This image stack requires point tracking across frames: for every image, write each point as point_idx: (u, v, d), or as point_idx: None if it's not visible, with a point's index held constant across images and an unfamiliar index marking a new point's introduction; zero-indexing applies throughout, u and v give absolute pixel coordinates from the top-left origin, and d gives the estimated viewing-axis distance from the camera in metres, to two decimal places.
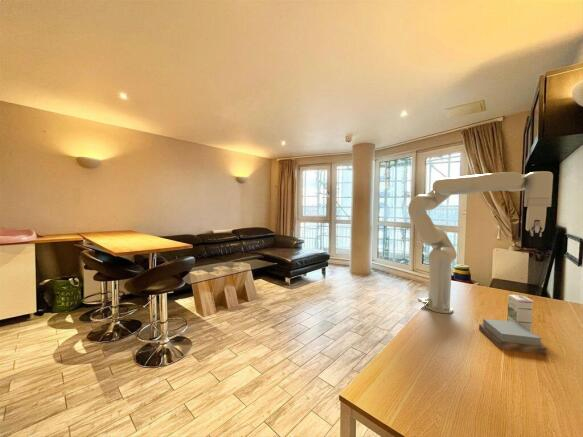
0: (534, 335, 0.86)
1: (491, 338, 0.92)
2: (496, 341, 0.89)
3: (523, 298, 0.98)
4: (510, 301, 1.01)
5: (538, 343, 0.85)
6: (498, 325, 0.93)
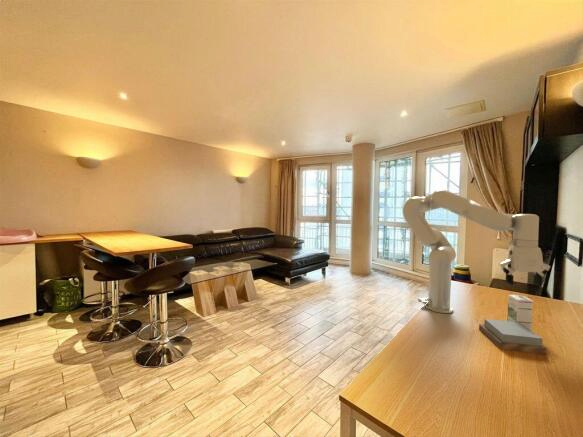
0: (536, 335, 0.86)
1: (491, 338, 0.92)
2: (496, 341, 0.89)
3: (523, 298, 0.98)
4: (510, 301, 1.01)
5: (540, 343, 0.85)
6: (499, 325, 0.93)
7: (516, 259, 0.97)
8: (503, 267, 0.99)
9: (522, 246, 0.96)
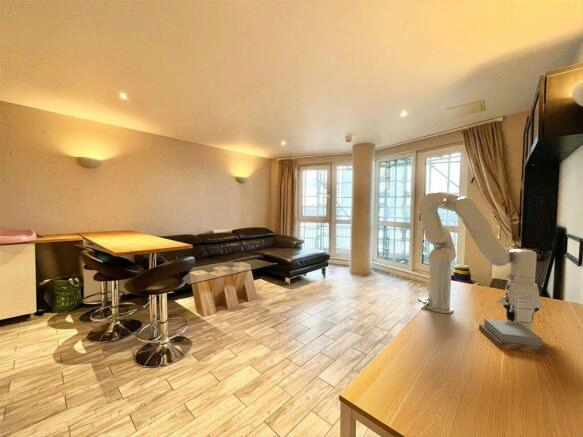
0: (535, 336, 0.86)
1: (491, 338, 0.92)
2: (496, 341, 0.89)
3: None
4: None
5: (539, 344, 0.85)
6: (499, 325, 0.93)
7: (513, 294, 0.98)
8: (503, 304, 1.00)
9: (519, 282, 0.97)
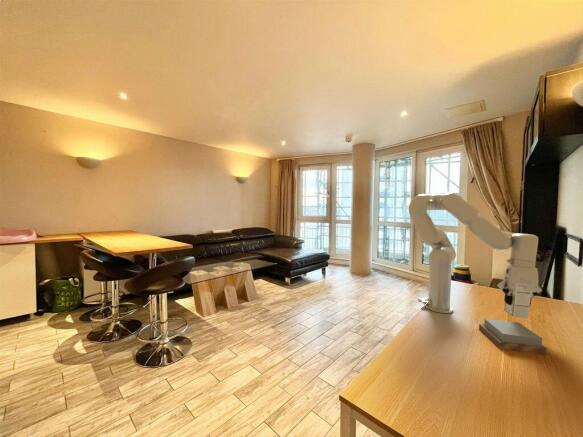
0: (536, 335, 0.86)
1: (491, 338, 0.92)
2: (496, 341, 0.89)
3: None
4: None
5: (539, 343, 0.85)
6: (499, 325, 0.93)
7: (512, 278, 0.98)
8: (502, 288, 1.00)
9: (519, 266, 0.96)
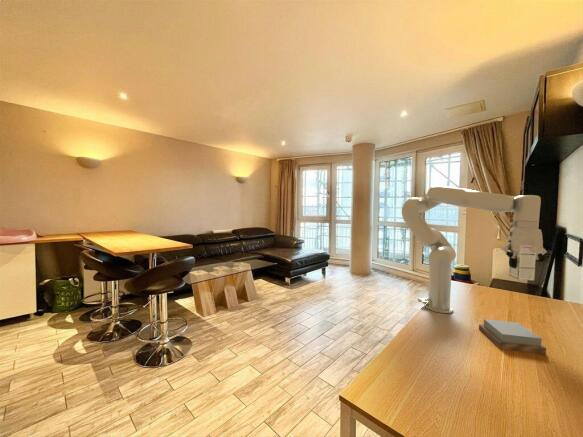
0: (535, 335, 0.86)
1: (491, 338, 0.92)
2: (496, 341, 0.89)
3: None
4: None
5: (539, 343, 0.85)
6: (499, 326, 0.93)
7: (516, 240, 0.96)
8: (506, 251, 0.99)
9: (522, 227, 0.95)
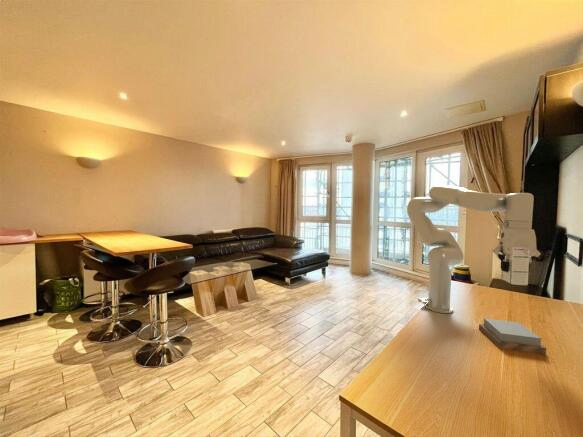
0: (534, 335, 0.86)
1: (491, 338, 0.92)
2: (496, 341, 0.89)
3: None
4: None
5: (538, 343, 0.85)
6: (498, 325, 0.93)
7: (508, 242, 0.89)
8: (497, 254, 0.92)
9: (515, 227, 0.88)
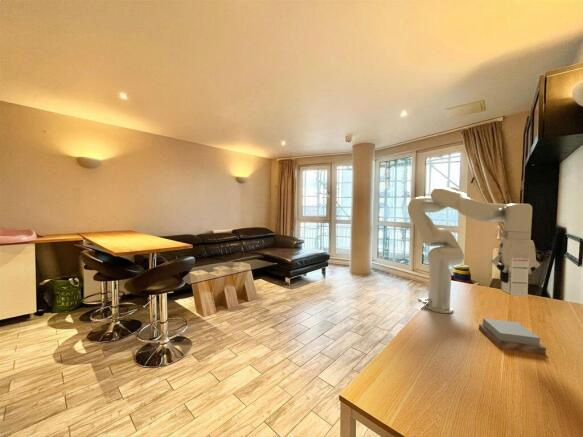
0: (533, 335, 0.87)
1: (491, 338, 0.92)
2: (496, 341, 0.89)
3: None
4: None
5: (537, 343, 0.85)
6: (497, 325, 0.94)
7: (507, 252, 0.89)
8: (496, 264, 0.91)
9: (513, 238, 0.88)
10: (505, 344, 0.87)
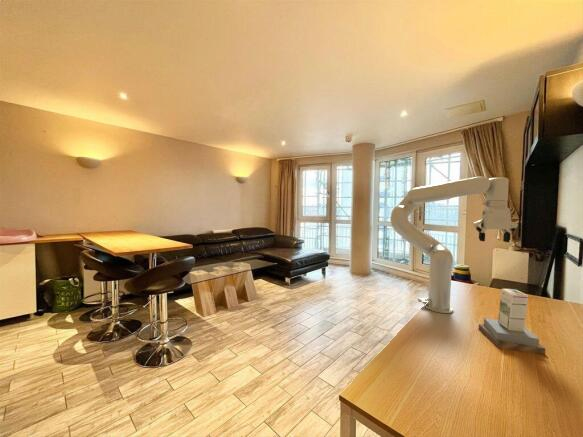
0: (533, 336, 0.86)
1: (490, 338, 0.92)
2: (495, 341, 0.89)
3: (517, 293, 0.89)
4: (503, 296, 0.92)
5: (536, 344, 0.85)
6: (497, 325, 0.94)
7: (487, 218, 1.08)
8: (476, 226, 1.10)
9: (493, 206, 1.07)
10: (504, 344, 0.87)
